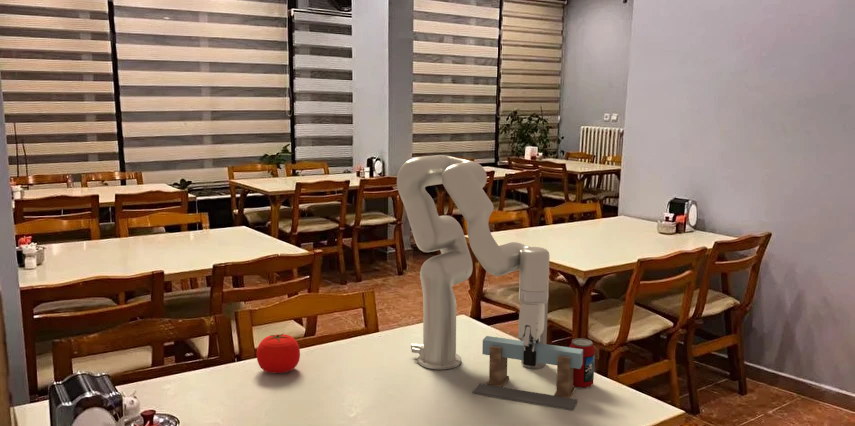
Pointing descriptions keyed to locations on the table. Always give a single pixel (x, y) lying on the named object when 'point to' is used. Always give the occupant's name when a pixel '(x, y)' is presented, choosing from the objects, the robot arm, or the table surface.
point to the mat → (526, 396)
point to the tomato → (278, 353)
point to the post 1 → (497, 367)
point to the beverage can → (584, 363)
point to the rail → (543, 351)
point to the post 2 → (564, 377)
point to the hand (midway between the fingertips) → (531, 361)
